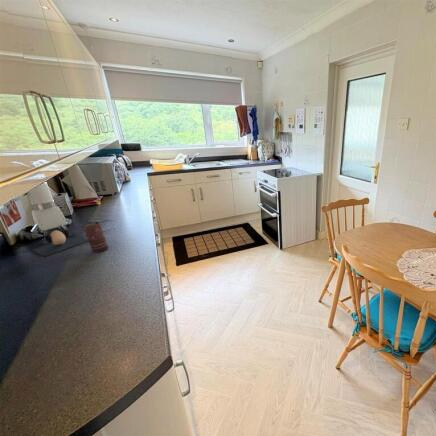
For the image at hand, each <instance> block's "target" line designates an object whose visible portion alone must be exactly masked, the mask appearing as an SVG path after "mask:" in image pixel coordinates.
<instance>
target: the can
mask: <svg viewBox="0 0 436 436" xmlns="http://www.w3.org/2000/svg"><path fill="white" fill-rule="evenodd" d="M83 230H84V232H85V236H86V237H87V238H86V239H87V240H88V243H89V246H90V248H91V251H92V252H93V253H96V254H98V253H102V252H105V251H106V250H108V248H109V246H108V243H107V240H106V236H105V233H104V230H103V228H102V225H101V223H100V222H99V221H92V222H91V221H90V222H87V223H84V224H83Z"/></svg>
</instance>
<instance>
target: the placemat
mask: <svg viewBox="0 0 436 436" xmlns="http://www.w3.org/2000/svg"><path fill="white" fill-rule="evenodd" d="M86 243H89V241H88V238H85V237H82V236H80V235H79V236H78V235H76V234H71V235H68V238H66V241H65V242H64V243H63V244H61V245H55V244H53V243H49V242H47V243H44V244H40V245H37V246H34V247H31V248H28V250H29V251H31V252H34V253H35V254H38V255H40V256H42V257H45V258H46V257H49V256H52V255H54V254H57V253H59V252H63V251H65V250H68V249H71V248H73V247H77V246H79V245H83V244H86Z"/></svg>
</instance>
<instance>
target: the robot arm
mask: <svg viewBox="0 0 436 436" xmlns="http://www.w3.org/2000/svg"><path fill="white" fill-rule="evenodd" d="M26 196H27V197H28V199H29V202H30V204H31V206H32V210H31V215H32V219H33V223H34V226H33V227H32V229H31V230H30V232H31V233H33V234H37V235H40V236H42V237H43V239H44V240H45V242H47V243H52V240H51V238H50V234H48V233H49V230H52V229H55V228H59V227H60V229H61V231H60V232H62V233H63V234H64V235H65V236H66V238H68V236H70V235H69V231H68V229H69V227H70V226H71V224H72V223H73V220H72V219H69V218H68V217H65V215H64V213H63V212H62V210H61V208H60V207H59V206H58V205H57V204H60V202H59V201H58V200H54V197H53V196H52V192H51V190H50V187H49V184H48V183H47V181H46V182H44V183H43V184H41V185H39V186H37V187H36V188H34V189H32V190H30V191H29V192H27V193H25V194H23V195H21V196H19V197H17V198H15V199H13V200H11V201H10V203H11V202H12V203H13V202H18V201H19V200H21V199H22V198H23V197H26ZM39 230H40V231H39Z"/></svg>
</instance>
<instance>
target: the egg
mask: <svg viewBox="0 0 436 436" xmlns="http://www.w3.org/2000/svg"><path fill="white" fill-rule="evenodd" d="M49 236H50V238H51V240H52V243H53V244H55V245H61V244H63V243H64V242H65V241H66V236H65V235H64V234H63V233H62V231H60V230H53V231H52V232H50V233H49Z"/></svg>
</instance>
